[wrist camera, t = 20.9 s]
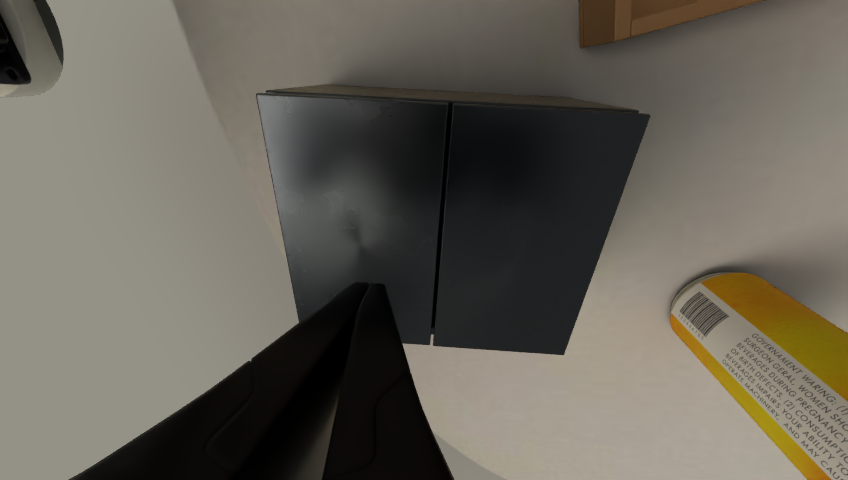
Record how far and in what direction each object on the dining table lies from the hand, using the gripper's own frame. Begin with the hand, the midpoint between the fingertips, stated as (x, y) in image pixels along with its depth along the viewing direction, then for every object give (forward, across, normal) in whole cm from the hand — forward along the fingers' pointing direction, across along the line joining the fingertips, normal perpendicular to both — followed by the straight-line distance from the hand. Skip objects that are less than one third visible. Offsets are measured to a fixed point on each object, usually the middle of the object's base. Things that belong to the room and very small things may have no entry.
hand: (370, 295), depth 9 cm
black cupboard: (+12, -2, +1) cm, 12 cm away
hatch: (+5, +1, +1) cm, 5 cm away
